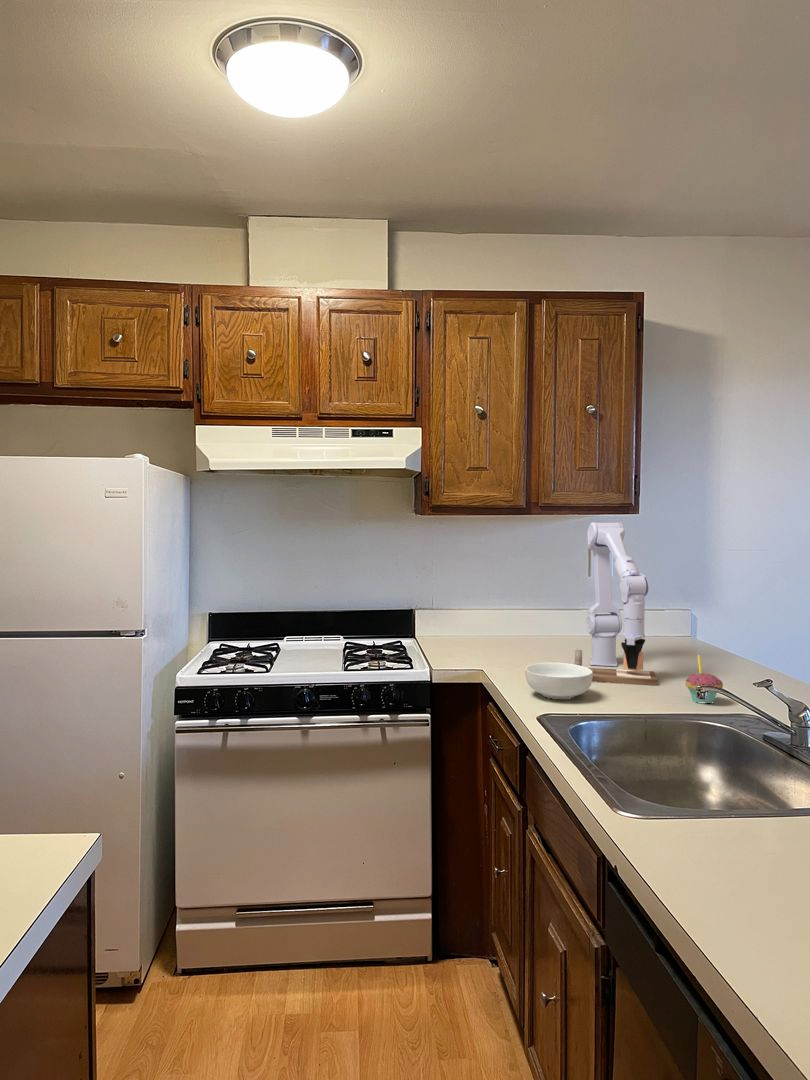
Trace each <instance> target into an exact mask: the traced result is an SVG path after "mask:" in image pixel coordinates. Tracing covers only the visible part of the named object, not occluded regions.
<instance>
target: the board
mask: <svg viewBox="0 0 810 1080" xmlns="http://www.w3.org/2000/svg"><path fill="white" fill-rule="evenodd" d="M574 665H579V666H583V650H581V649H575V650H574ZM588 668H589V669H590V670H592V672H593V677H592V681H597V682H596V683H606V682H610V683H609V684H622V683H624V685H640V686H642V685H643V686H656V687H657V686H658V678H657V676H656V672H655V670H654V671H653V670H652V671H651V670H627V669H624V668H623V669H621V668H615V669H614V668H599V667H598V668H597V667H596V668H595V667H588Z"/></svg>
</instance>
